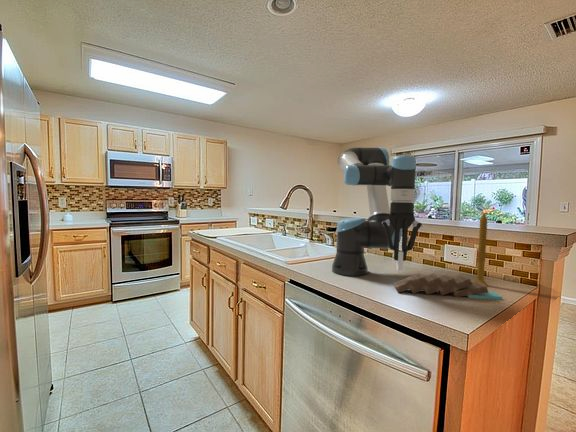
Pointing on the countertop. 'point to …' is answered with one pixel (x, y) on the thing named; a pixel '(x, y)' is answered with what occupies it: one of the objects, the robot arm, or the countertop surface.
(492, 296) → the domino
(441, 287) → the domino
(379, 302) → the countertop surface
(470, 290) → the domino
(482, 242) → the candlestick
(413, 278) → the domino
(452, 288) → the domino
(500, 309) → the countertop surface
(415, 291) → the domino
